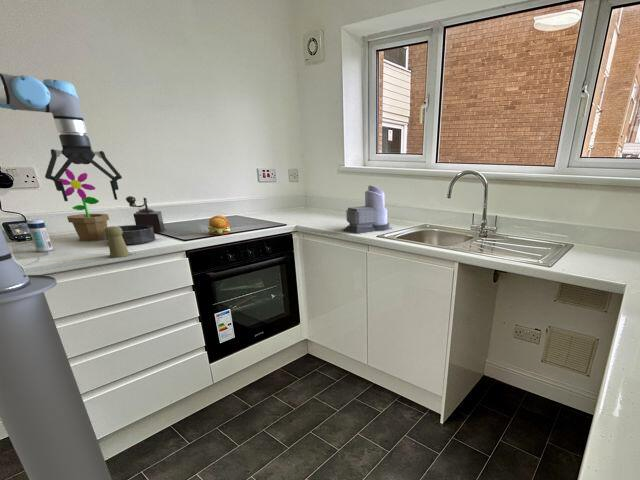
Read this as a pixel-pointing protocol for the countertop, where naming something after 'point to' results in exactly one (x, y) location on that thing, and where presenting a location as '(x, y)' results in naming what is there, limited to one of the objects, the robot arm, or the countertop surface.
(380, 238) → the countertop surface
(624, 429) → the countertop surface
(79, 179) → the flowerpot
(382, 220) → the juicer
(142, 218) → the brown coffee grinder
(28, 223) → the white cylindrical container
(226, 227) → the cheeseburger
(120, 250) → the cork
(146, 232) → the dark grey shallow bowl
